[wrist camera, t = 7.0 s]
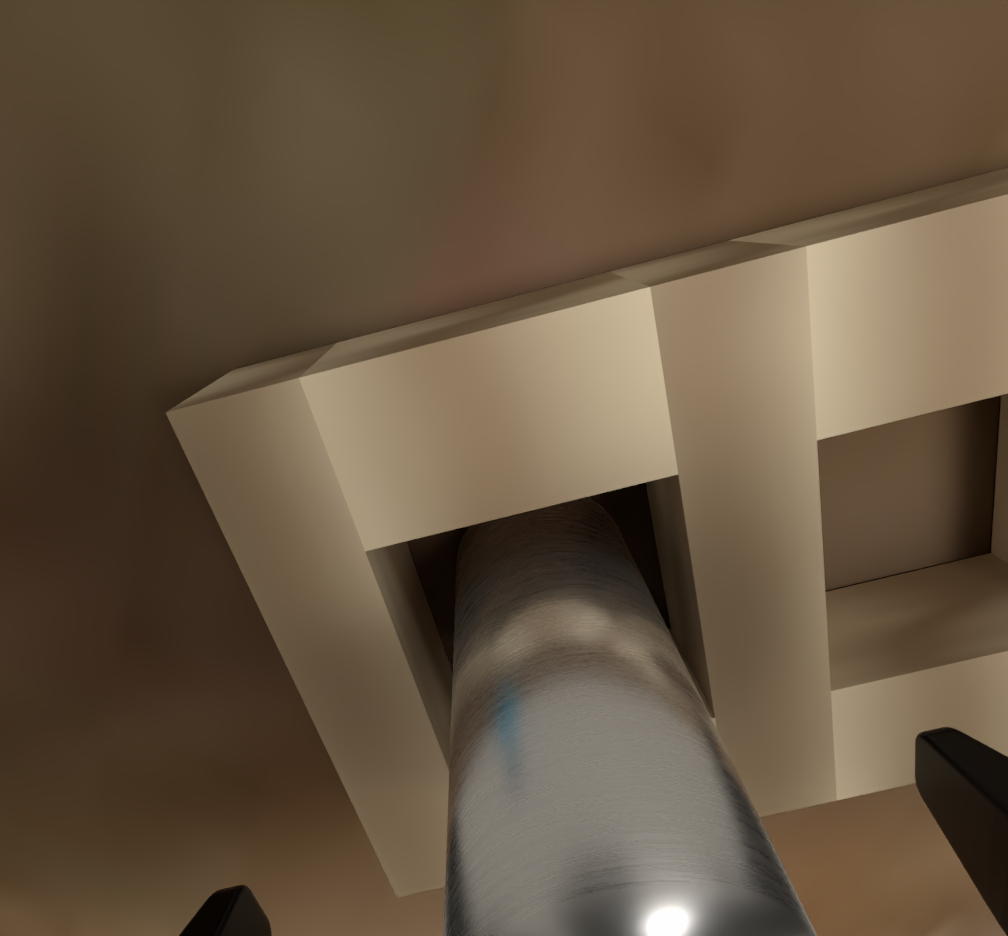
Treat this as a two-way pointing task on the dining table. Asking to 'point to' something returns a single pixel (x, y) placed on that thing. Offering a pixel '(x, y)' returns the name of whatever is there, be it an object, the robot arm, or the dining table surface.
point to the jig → (670, 487)
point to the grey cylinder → (589, 753)
